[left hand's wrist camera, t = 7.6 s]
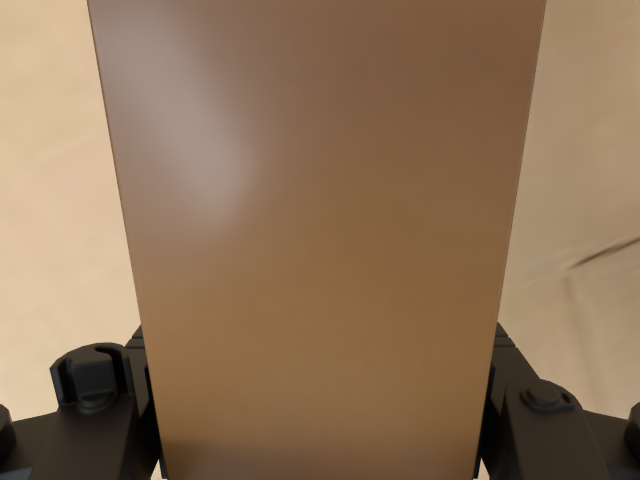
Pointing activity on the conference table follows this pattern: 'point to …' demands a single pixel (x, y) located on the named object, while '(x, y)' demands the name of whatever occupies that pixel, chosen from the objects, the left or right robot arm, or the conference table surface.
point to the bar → (318, 223)
